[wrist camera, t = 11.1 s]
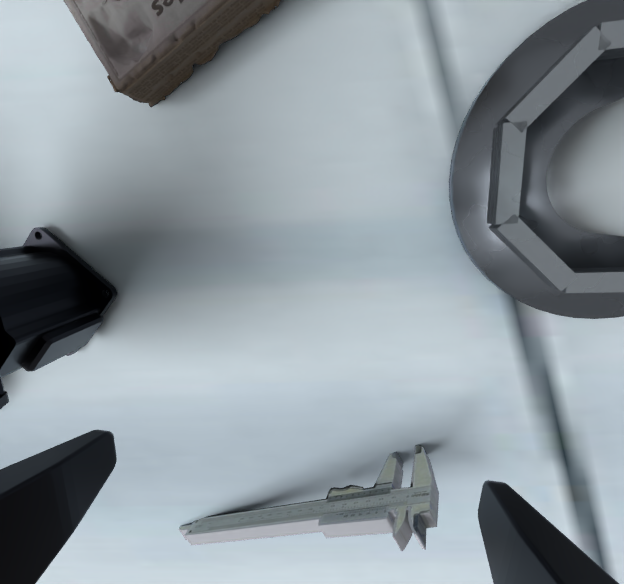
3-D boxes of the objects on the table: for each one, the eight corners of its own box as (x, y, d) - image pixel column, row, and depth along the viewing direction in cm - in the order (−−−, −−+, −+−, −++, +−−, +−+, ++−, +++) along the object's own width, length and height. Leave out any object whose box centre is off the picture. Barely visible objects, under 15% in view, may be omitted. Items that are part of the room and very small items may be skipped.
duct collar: (389, 184, 18) (393, 182, 16) (645, -93, 14) (690, -140, 12) (577, 365, 19) (601, 382, 17) (866, 154, 15) (940, 146, 13)
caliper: (421, 439, 22) (444, 526, 16) (427, 452, 22) (453, 543, 16) (181, 523, 27) (129, 614, 21) (188, 533, 27) (139, 627, 21)
